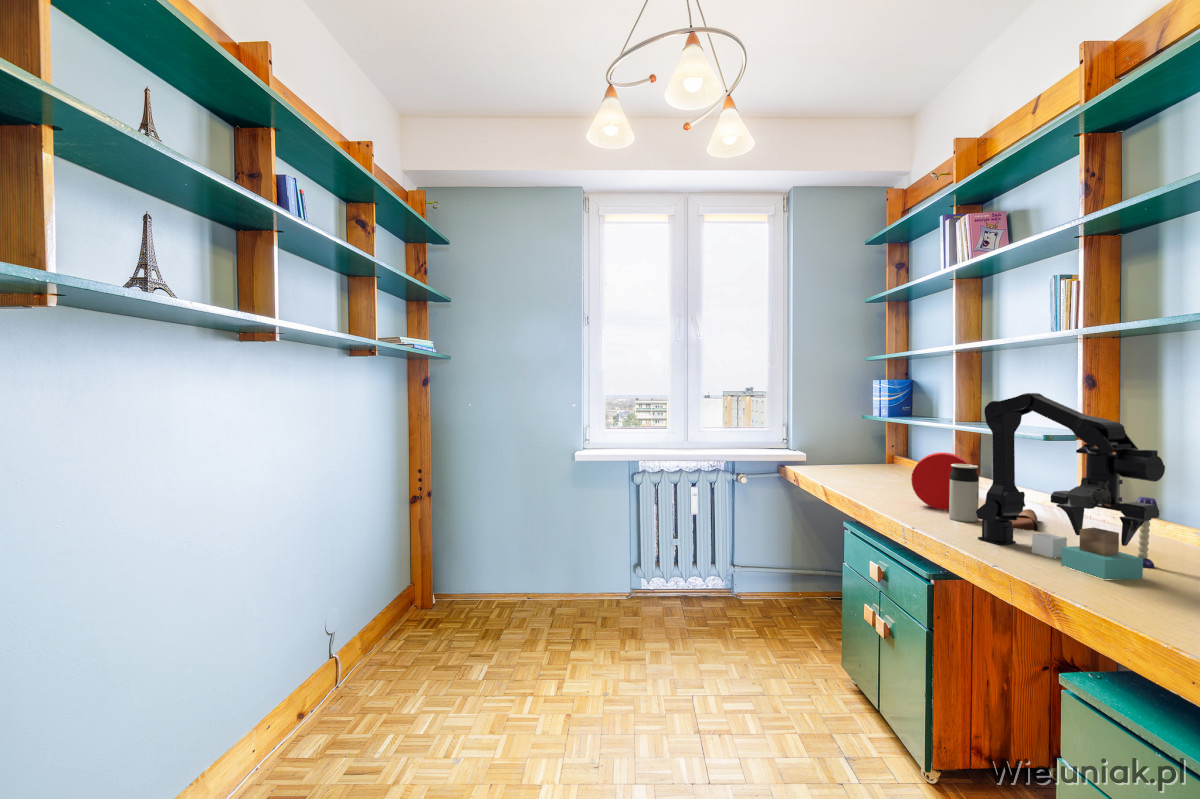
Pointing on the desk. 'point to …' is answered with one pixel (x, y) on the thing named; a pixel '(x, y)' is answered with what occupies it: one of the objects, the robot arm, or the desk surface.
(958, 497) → the travel mug
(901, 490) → the desk surface
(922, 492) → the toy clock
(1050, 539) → the grey cube
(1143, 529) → the toy lamp
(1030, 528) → the sunglasses case
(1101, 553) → the walnut cube
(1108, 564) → the teal base block
